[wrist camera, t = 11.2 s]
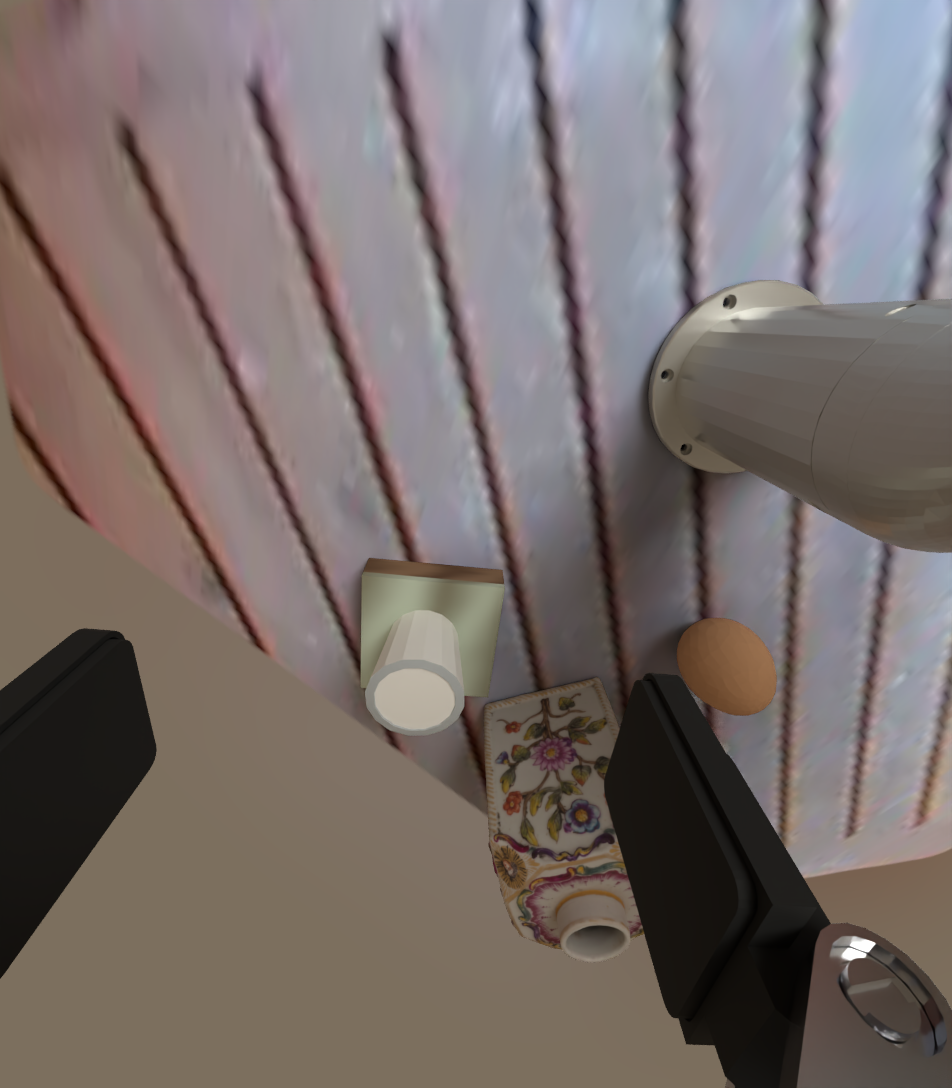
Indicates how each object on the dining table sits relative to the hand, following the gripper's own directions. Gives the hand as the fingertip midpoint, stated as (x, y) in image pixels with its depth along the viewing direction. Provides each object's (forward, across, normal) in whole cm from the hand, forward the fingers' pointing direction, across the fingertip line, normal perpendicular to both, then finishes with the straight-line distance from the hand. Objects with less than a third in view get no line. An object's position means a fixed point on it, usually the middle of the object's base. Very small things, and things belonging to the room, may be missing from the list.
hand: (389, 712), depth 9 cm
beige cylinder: (+26, 0, +17) cm, 31 cm away
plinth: (+28, 0, +17) cm, 33 cm away
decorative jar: (+29, -13, +29) cm, 43 cm away
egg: (+28, -24, +16) cm, 41 cm away
